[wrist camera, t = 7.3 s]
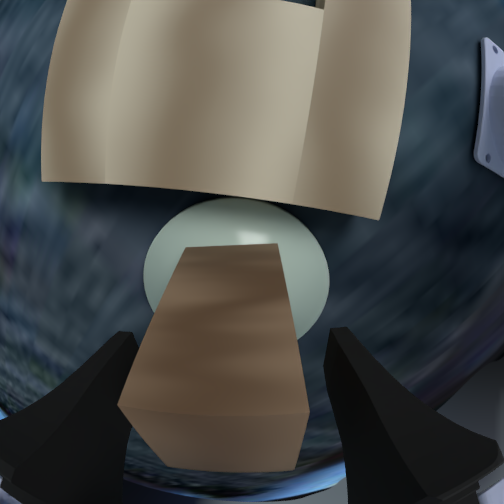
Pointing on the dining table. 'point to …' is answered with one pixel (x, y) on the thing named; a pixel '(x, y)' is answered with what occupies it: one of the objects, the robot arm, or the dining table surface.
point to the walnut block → (221, 366)
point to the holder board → (230, 98)
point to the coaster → (242, 233)
